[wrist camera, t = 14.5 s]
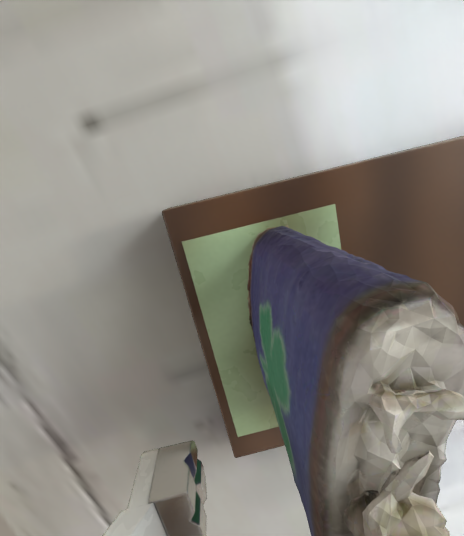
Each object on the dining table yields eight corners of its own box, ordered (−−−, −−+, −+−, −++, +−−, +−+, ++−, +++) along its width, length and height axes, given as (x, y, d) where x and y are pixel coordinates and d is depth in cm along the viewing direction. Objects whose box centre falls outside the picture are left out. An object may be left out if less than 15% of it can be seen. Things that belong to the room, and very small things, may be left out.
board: (564, 110, 14) (607, 101, 13) (547, 356, 18) (579, 371, 16) (165, 208, 14) (160, 210, 12) (232, 437, 18) (235, 460, 16)
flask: (313, 394, 15) (523, 806, 5) (259, 403, 15) (359, 841, 5) (304, 220, 13) (662, 331, 3) (239, 228, 13) (353, 378, 3)
